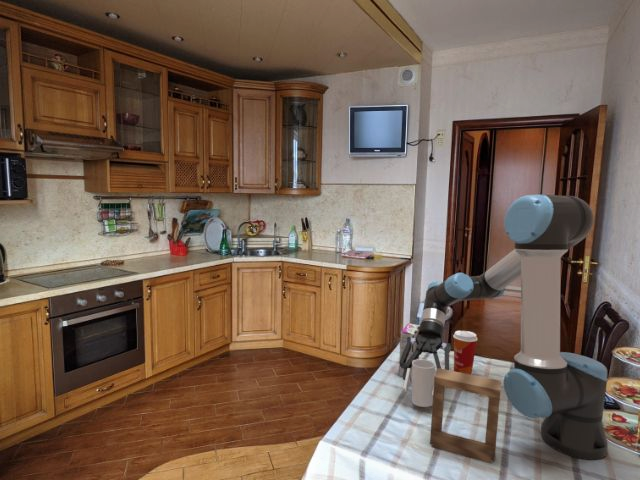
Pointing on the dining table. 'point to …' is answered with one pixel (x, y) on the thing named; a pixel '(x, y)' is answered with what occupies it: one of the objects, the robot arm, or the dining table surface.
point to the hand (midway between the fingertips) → (419, 393)
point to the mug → (422, 382)
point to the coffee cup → (464, 351)
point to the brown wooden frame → (493, 391)
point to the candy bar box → (408, 331)
